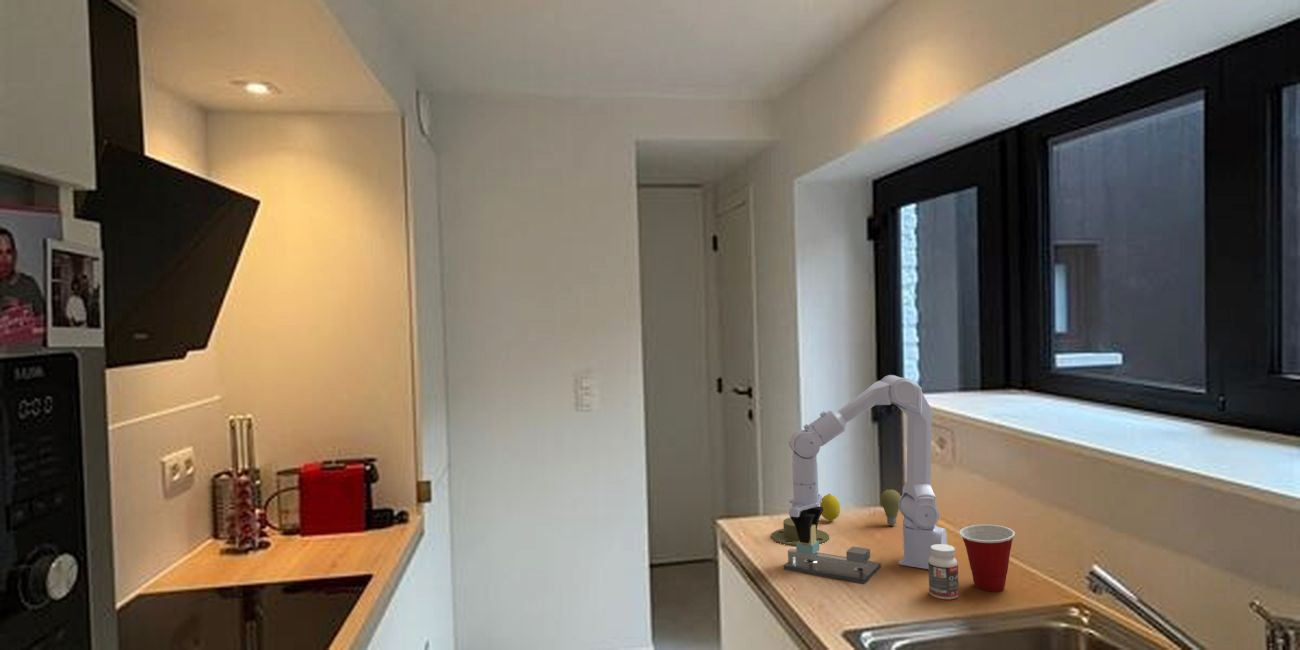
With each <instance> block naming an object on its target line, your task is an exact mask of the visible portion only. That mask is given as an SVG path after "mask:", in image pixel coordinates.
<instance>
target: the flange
mask: <svg viewBox="0 0 1300 650" xmlns="http://www.w3.org/2000/svg"><path fill="white" fill-rule="evenodd" d="M782 522H783V528H780V529H779V528H778V529H776V530H775V531H773V532H771V535H770V537H771V539H773V540H774V542H775V541H776V542H775V543H777V542H778V543H777V544H780V543H781V544H780V545H783V544H785V545H784V546H788V545H791V546H790V547H796V543H798V542H799V538H798V534H797V530H796V527H795V525H794V523H793V521H792V519H791V517H788V518H785V519H783V521H782ZM773 540H772V541H773ZM828 540H829V541H830V534H828V533H827V532H825V531H823V530H820V529H818V528H817V531H816V541H819V544H821V545H823V544H822V543H824V544H826V543H827V541H828ZM829 541H828V542H829ZM825 542H826V543H825Z"/></svg>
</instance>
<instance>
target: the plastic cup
mask: <svg viewBox="0 0 1300 650" xmlns="http://www.w3.org/2000/svg"><path fill="white" fill-rule="evenodd" d="M1015 534H1016V532H1015V531H1014V530H1013V529H1011V528H1009V527H1006V526H1002V525H996V524H973V525H968V526H964V527H962V528H961V529H960V530H959V535H960V536H961V538H962V541H963V544H964V546H965V549H966V554H967V557H968V561H969V562H968V564H969V568H970V570H971V576H972V580H973V583H974V586H975V588H977V589H979V590H982V591H986V592H1001V591H1004V589H1005V587H1006V581H1007V580H1006V579H1007V575H1008V570H1009V562H1010V555H1011V549H1012V543H1013V540H1014V538H1015Z"/></svg>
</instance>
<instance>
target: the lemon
mask: <svg viewBox="0 0 1300 650" xmlns="http://www.w3.org/2000/svg"><path fill="white" fill-rule="evenodd" d="M819 507H823V512H822V514H821V517H823V518H824V519H826V520H827V521H828V523H832V522H833V521H834V520H836V519H837V518H838V517H839V516H840V513H841V505H840V501H839V500H838V498H837V497H836V496H835V495H833V494H831V493H828V494H826V495H824V496H822V502H821V503H820V505H819Z"/></svg>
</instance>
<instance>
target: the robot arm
mask: <svg viewBox="0 0 1300 650" xmlns="http://www.w3.org/2000/svg"><path fill="white" fill-rule="evenodd" d="M922 390H923V389H922V387H921V386H920V385H919V384H917V383H916V382H915V381H913V380H912V379H910V378H906V377H902V376H901V377H900V376H897V375H894V374H889V375H886V376H884V377H883V378H882V379H880V380H877V381H875V382H873V383H872V385H870V386H869V387H868V388H866V389H865V390H864V391H863V392H861V393H860V394H859V395H857V396H856V397H855V398H853V399H852V400H851V401H849V402H848V403H847V404H845V405H844V406H842V407H841V408H839V410H837V411H833V410H828V411H827V412H825V411H822V412H821V413H819V415H820V416H819V417H818V418H817V419H815V420H813V421H812V422H811V423H809V424H808V423H806V424H804V425H803V428H804V429H798V430H796V431H794V432H793V433H792V434H791V437H790V439H789V441H788V444H789V445H788V446H789V448H790V449H791V450H792V462H791V463H792V465H791V467H792V486H793V487H792V489H793V490H792V492H793V498H792V497H791V498H790V499H788V502H789V504H791V507H789V512H788V513H789V518H791V519H792V521H793V523H794V525H795V527H796V530H797V534H798V538H799V541H800V542H802V543H809V541H810V533H811V525H812V524H815V525H816V531H817V529H818V526H819V521H820V519H821V517H822V512H823V507H820V503H821V502H822V498H823V496H822V494H821V493H820V494H819V478H818V477H819V476H818V475H819V473H818V471H819V470H818V462H817V460H818V459H817V456H818V454H819V452H820V449H821V447H823V446H825V445H826V444H828V443H829V442H831V441H832V440H833V439H834V438H836V437H838V436H839V435H841V434H842V433H844V432H845V430H846V427H847V423H848V422H850V421H852V420H854V419H855V418H856V417H858V416H860V415H862V414H863V413H865V412H866V411H868V410H870V409H871V408H873V407H875V406H890V405H892V404H894V405H895V406H896V407H898V408H899V409H900V410H901V411H902V412H903V414H904V415H906V416H907V431H906V433H907V434H906V436H907V437H906V438H907V441H906V444H907V446H906V448H907V449H906V451H907V452H906V482H905V483H904V485H903V487H902V494H901V495H900V496H901V498H900V500H899V510H898V511H899V512H900V513H901V515H903V520H902V537H903V539H902V542H903V544H902V548H903V557H902V558H901V559H900V560H899V561H898V563H897V564H898V565H899V566H900V565H901V566H907V567H910V568H911V567H912V568H919V569H925V570H929V566H928V560H929V558H930V556H932V553H931V546H932V545H935V544H946V545H948V535H947V534H948V533H947V530H946V528H943V527H939V526H937V525H936V524H937V523H938V521H939V519H940V511H939V508H938V506H937V504H936V495H935V493H934V490H933V488H932V485H931V482H932V481H931V480H932V476H931V474H932V473H931V472H932V471H931V469H932V467H931V466H932V425H933V424H932V421H933V420H932V417H933V415H932V414H933V412H932V408H931V405H930V403H929V401H928V400H927V398H926V397H925V395H924V393H923V391H922Z"/></svg>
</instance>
